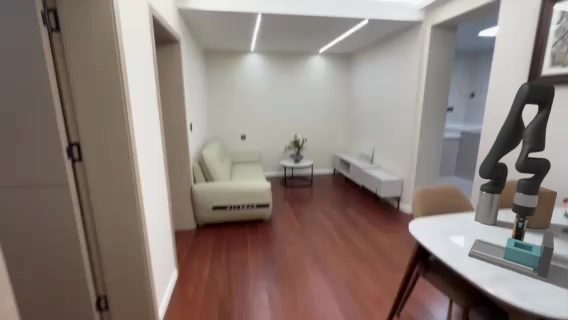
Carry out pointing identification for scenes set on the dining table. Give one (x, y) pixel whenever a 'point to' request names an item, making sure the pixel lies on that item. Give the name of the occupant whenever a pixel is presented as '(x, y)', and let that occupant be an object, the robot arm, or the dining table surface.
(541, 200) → the block
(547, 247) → the rail base
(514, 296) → the dining table surface
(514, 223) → the dowel
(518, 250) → the socket block
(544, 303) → the dining table surface
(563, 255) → the dining table surface
